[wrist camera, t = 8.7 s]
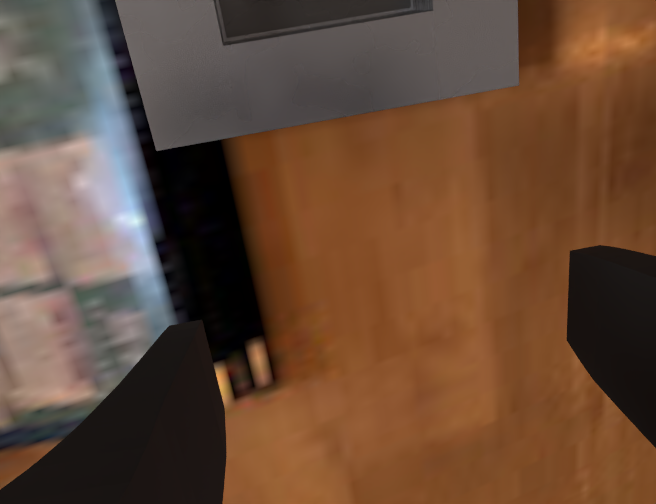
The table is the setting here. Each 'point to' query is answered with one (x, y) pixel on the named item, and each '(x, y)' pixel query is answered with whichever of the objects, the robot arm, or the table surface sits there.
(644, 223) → the table surface
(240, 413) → the table surface
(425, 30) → the socket
